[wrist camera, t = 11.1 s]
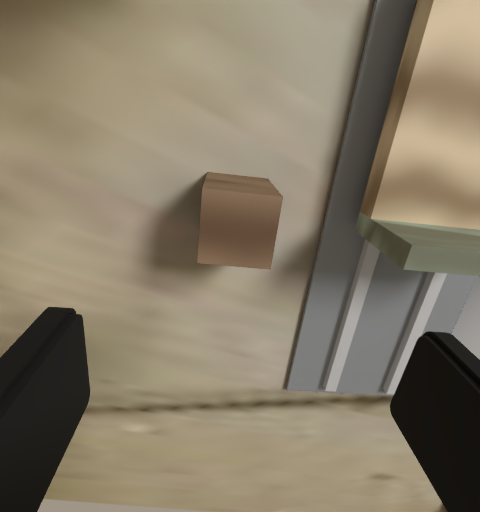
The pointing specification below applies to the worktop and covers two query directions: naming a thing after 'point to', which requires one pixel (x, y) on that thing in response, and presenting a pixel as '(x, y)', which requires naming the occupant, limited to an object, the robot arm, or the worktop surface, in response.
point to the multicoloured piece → (431, 147)
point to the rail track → (368, 253)
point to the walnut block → (238, 221)
